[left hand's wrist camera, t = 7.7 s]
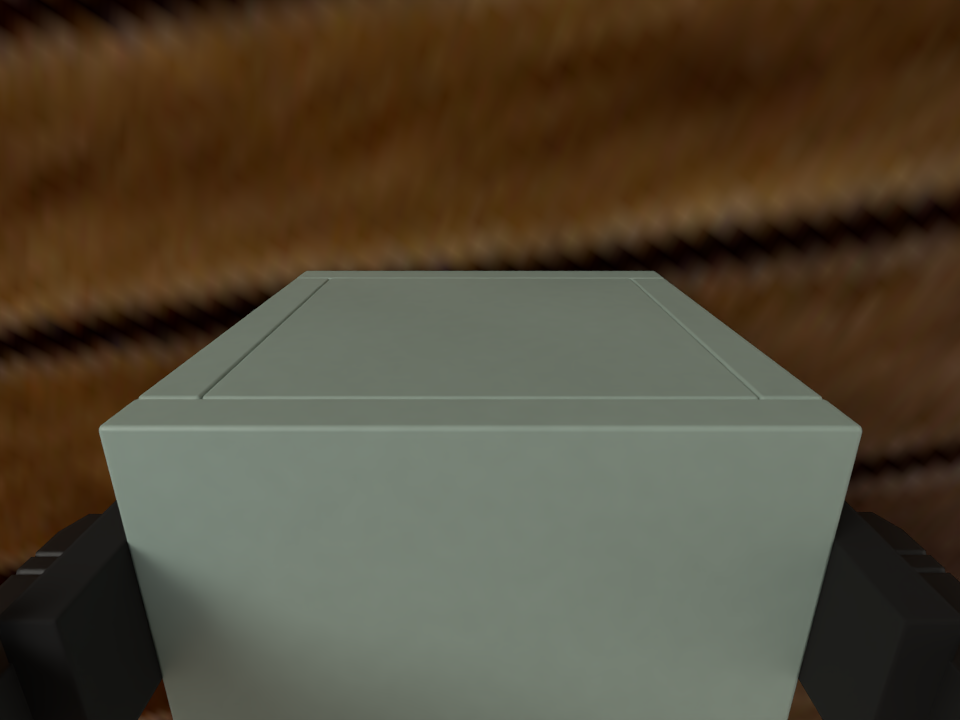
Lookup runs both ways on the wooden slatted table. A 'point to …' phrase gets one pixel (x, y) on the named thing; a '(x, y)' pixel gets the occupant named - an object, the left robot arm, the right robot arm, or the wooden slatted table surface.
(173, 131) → the wooden slatted table surface
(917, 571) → the left robot arm
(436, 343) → the cabinet
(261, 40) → the wooden slatted table surface
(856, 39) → the wooden slatted table surface
